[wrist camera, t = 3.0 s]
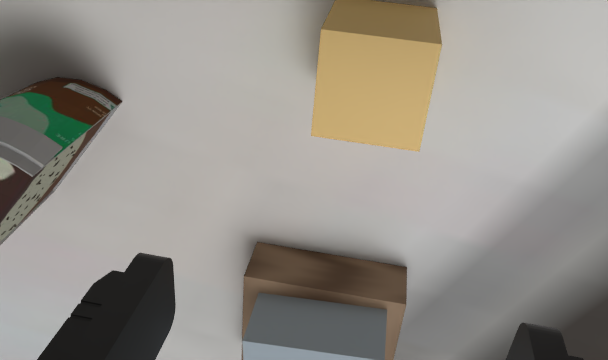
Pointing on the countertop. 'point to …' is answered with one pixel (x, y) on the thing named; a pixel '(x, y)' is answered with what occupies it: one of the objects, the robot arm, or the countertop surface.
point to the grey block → (313, 330)
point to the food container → (45, 141)
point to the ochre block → (376, 73)
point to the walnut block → (327, 283)
